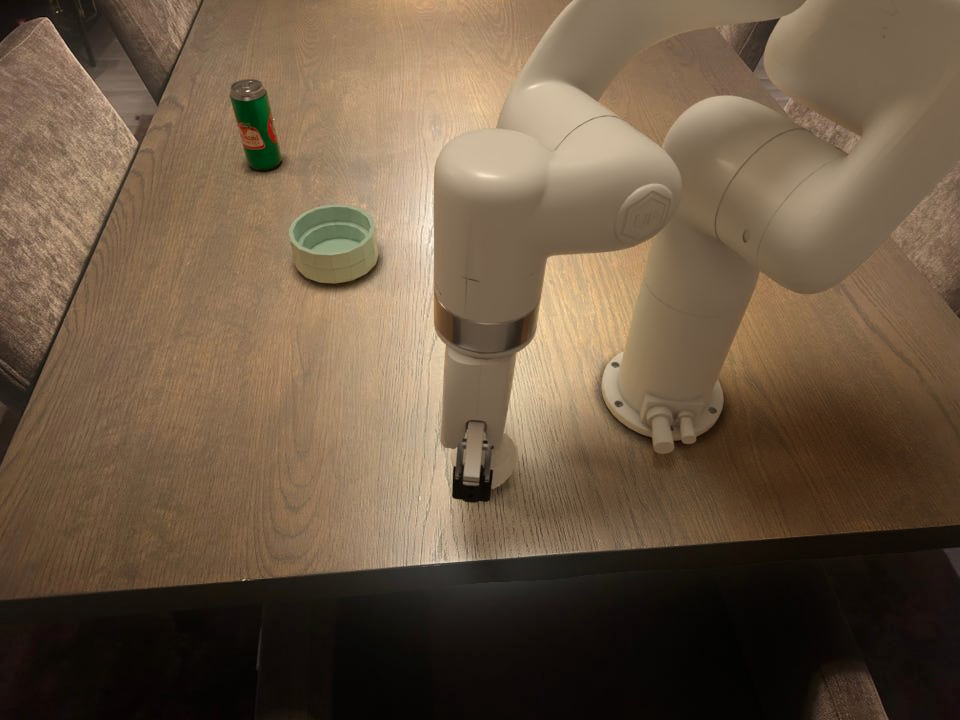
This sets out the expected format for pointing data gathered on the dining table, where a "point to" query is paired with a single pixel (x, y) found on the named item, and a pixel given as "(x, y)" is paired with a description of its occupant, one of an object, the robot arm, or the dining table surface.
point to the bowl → (334, 243)
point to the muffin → (497, 460)
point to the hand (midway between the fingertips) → (475, 451)
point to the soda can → (255, 124)
